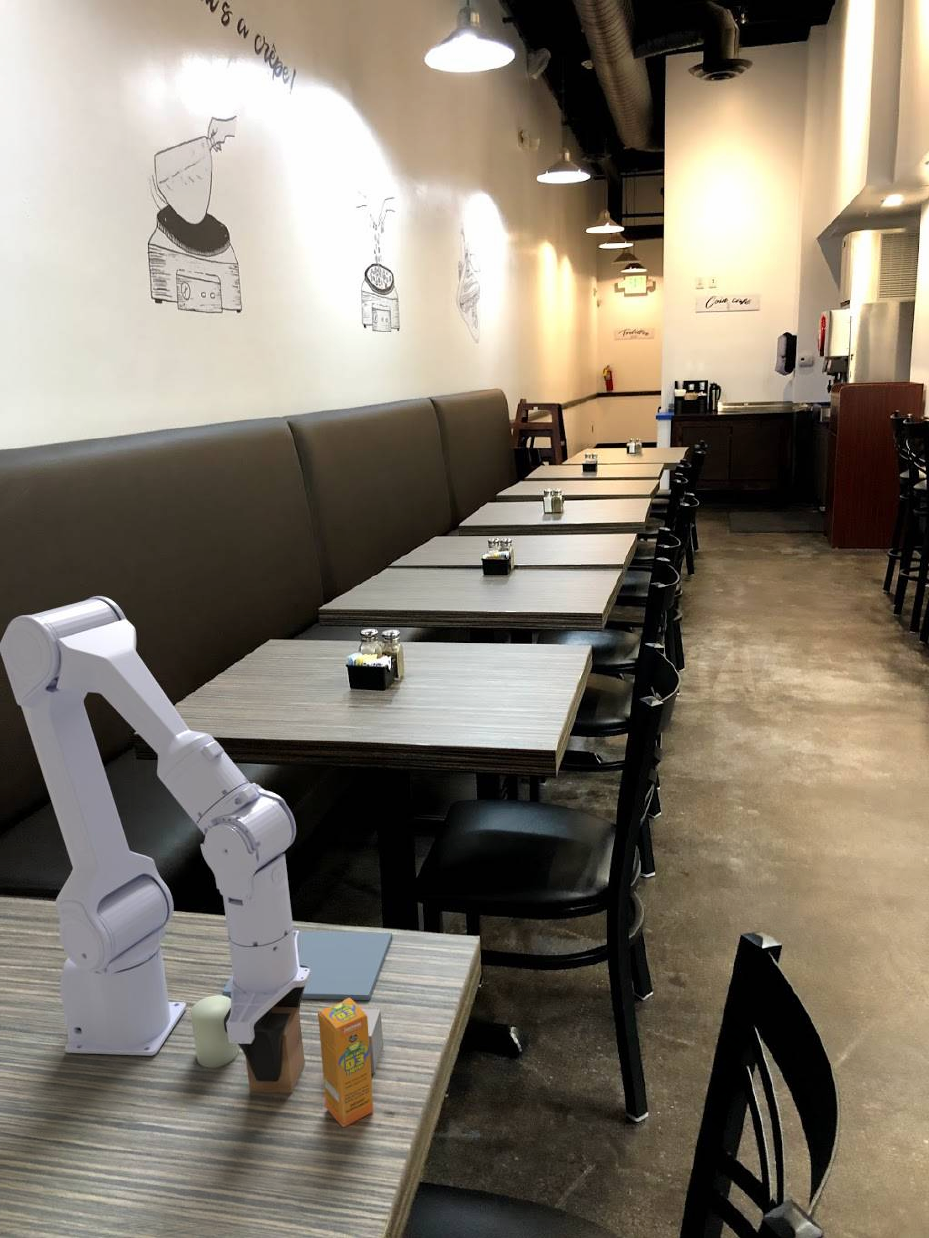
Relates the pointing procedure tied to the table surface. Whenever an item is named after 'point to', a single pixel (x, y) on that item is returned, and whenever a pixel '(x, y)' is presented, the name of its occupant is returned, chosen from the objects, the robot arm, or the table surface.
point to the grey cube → (374, 1036)
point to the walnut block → (284, 1057)
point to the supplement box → (346, 1061)
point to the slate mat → (340, 963)
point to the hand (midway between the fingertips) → (276, 1061)
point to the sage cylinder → (212, 1031)
